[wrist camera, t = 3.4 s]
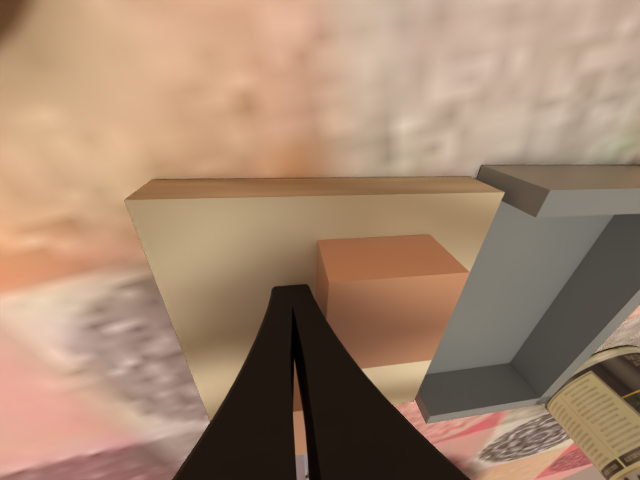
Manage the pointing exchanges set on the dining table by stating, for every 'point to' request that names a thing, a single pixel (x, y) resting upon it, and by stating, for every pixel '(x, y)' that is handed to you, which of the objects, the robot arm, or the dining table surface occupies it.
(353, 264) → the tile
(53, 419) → the dining table surface
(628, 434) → the coffee can
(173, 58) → the dining table surface
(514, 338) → the tray
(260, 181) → the board
